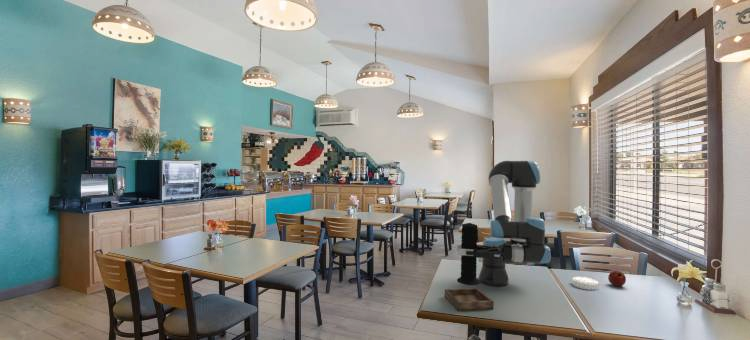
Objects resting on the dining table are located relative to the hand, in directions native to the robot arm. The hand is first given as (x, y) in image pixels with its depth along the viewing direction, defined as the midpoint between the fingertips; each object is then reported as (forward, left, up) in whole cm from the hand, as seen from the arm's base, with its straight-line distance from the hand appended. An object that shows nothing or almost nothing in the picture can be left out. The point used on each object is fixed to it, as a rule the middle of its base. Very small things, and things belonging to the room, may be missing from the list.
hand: (457, 249), depth 155 cm
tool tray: (-5, +2, -24) cm, 24 cm away
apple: (-93, -9, -24) cm, 96 cm away
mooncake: (-76, -11, -24) cm, 80 cm away
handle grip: (-5, +2, -14) cm, 15 cm away
